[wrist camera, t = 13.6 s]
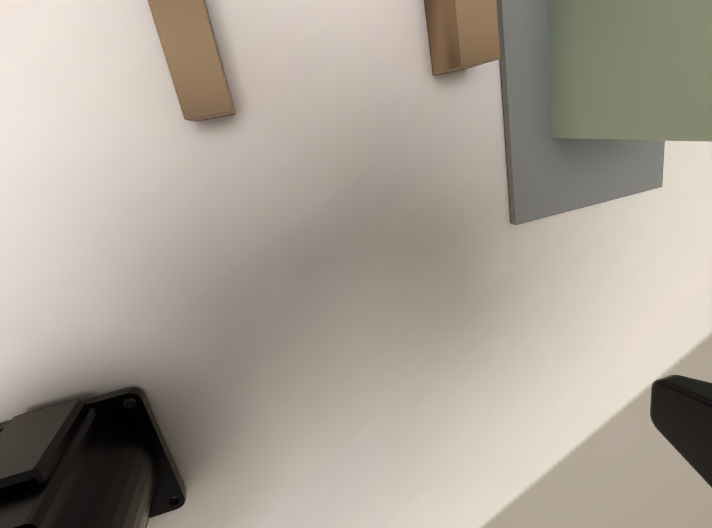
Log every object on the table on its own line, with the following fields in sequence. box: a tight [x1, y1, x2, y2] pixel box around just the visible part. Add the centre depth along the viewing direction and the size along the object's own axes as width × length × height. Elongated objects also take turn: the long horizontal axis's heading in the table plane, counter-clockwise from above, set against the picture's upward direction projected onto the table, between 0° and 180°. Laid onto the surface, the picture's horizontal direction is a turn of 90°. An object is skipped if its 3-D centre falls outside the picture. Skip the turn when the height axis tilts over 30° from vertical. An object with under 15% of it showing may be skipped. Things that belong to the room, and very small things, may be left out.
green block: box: [547, 0, 712, 141], centre depth 14 cm, size 4×7×8 cm, turn 11°
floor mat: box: [496, 0, 665, 225], centre depth 18 cm, size 14×8×1 cm, turn 11°
